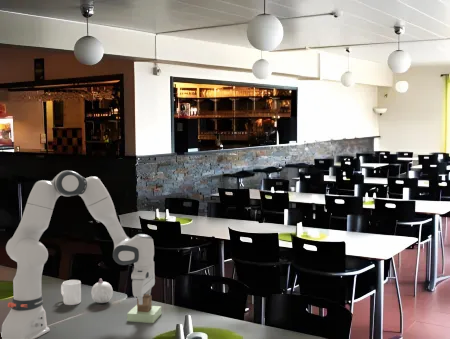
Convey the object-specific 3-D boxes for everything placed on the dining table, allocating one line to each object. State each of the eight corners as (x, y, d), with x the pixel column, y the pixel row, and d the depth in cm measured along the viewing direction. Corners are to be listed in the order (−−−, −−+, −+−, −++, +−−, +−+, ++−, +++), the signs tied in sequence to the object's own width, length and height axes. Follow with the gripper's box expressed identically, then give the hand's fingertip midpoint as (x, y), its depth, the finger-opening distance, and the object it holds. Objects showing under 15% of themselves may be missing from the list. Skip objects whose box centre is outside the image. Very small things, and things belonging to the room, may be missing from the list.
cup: (71, 306, 264) (70, 285, 263) (54, 301, 271) (54, 281, 270) (84, 301, 271) (84, 281, 270) (68, 297, 277) (67, 277, 277)
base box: (153, 324, 242) (153, 315, 242) (127, 322, 244) (127, 313, 244) (161, 314, 254) (161, 306, 254) (136, 313, 256) (136, 304, 256)
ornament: (91, 306, 263) (91, 282, 262) (91, 300, 273) (90, 276, 272) (113, 305, 266) (113, 280, 265) (112, 298, 276) (111, 274, 275)
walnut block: (148, 312, 246) (147, 298, 245) (137, 311, 247) (137, 298, 246) (151, 308, 251) (151, 295, 250) (141, 307, 252) (140, 294, 251)
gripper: (145, 264, 258) (145, 293, 259) (129, 276, 238) (129, 307, 239) (158, 265, 257) (158, 294, 258) (143, 276, 237) (143, 308, 238)
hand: (144, 300), depth 249 cm, fingers open, 8 cm apart
